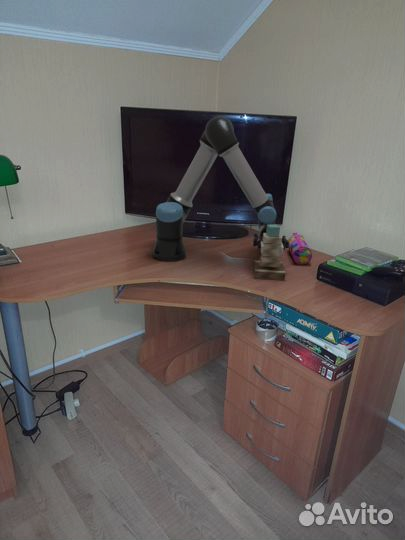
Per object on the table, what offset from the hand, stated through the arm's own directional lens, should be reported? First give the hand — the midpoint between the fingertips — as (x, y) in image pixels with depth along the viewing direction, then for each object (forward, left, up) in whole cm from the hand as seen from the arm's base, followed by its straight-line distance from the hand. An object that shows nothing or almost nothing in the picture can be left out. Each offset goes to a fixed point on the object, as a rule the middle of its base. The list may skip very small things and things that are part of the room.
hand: (272, 250), depth 151 cm
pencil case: (+15, +28, -12) cm, 34 cm away
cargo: (0, +5, +5) cm, 7 cm away
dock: (0, +5, -12) cm, 13 cm away
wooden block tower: (0, +5, -7) cm, 9 cm away
